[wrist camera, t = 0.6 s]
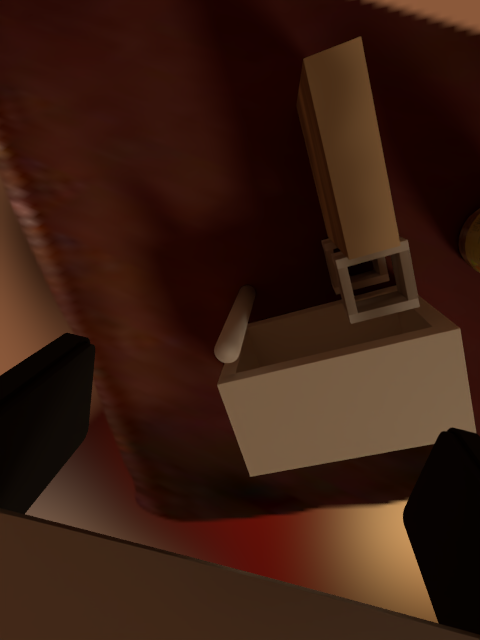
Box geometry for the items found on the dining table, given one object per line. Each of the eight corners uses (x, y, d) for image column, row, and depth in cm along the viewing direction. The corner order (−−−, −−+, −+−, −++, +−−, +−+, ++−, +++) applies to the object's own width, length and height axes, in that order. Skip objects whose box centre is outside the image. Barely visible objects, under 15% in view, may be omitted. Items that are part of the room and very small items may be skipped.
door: (341, 89, 31) (375, 30, 19) (379, 272, 35) (425, 311, 24) (287, 108, 32) (290, 64, 20) (331, 284, 36) (353, 329, 25)
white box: (395, 242, 34) (466, 277, 21) (418, 361, 37) (491, 455, 24) (225, 290, 37) (192, 347, 24) (259, 395, 40) (248, 496, 27)
